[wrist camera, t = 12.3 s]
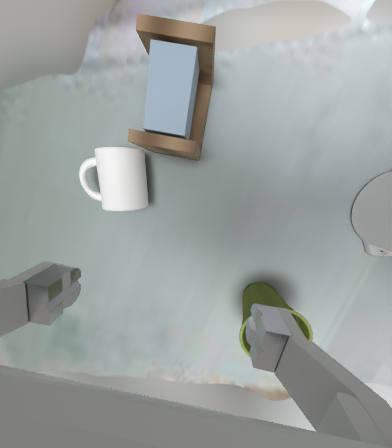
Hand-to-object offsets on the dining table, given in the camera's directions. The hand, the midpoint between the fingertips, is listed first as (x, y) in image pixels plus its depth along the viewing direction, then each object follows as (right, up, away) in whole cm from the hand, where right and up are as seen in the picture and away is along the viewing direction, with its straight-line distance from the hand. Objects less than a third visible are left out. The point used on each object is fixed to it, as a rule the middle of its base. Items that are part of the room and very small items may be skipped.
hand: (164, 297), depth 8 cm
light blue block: (-2, +21, +19) cm, 28 cm away
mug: (-13, +12, +28) cm, 33 cm away
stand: (-1, +23, +24) cm, 33 cm away
